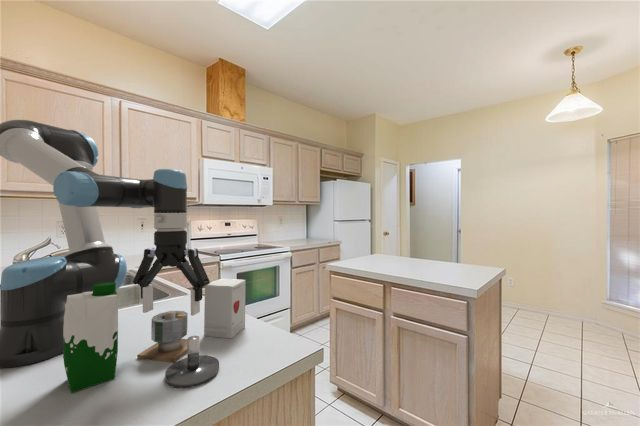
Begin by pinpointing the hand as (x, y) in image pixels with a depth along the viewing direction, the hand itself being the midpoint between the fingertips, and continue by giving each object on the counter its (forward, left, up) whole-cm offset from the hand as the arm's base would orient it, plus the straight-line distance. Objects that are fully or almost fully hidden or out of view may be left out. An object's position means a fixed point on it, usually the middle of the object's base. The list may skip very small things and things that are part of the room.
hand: (171, 312), depth 73 cm
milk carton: (-8, -14, -10) cm, 19 cm away
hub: (+12, -8, -10) cm, 17 cm away
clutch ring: (0, 0, -6) cm, 6 cm away
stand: (0, 0, -10) cm, 10 cm away
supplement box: (+8, +14, -10) cm, 19 cm away
